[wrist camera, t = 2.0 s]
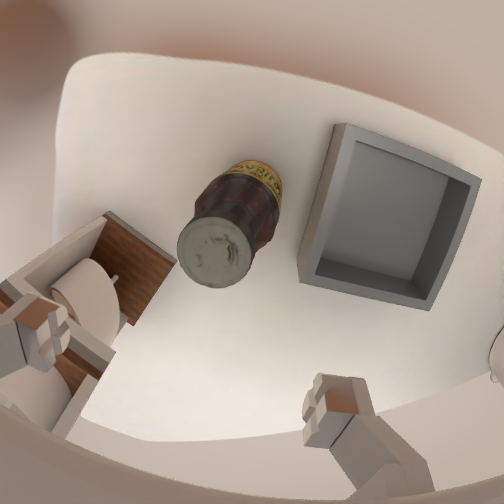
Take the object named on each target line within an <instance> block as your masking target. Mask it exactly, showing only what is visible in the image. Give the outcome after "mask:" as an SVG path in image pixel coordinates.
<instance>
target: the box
mask: <svg viewBox="0 0 504 504" xmlns="http://www.w3.org/2000/svg"><path fill="white" fill-rule="evenodd" d="M481 181H482V179H480V178H478V177H476V176H474V175H473V174H470V173H468V172H466V171H464V170H462V169H460V168H458V167H456V166H454V165H452V164H450V163H447V162H445V161H443V160H441V159H439V158H436V157H434V156H432V155H430V154H427V153H425V152H422V151H420V150H418V149H415V148H413V147H410V146H408V145H405V144H403V143H400V142H398V141H395V140H392V139H390V138H387V137H384V136H382V135H379V134H376V133H373V132H371V131H368V130H365V129H362V128H359V127H356V126H353V125H350V124H335V125H334V129H333V133H332V137H331V140H330V144H329V148H328V152H327V155H326V159H325V163H324V166H323V170H322V174H321V177H320V181H319V184H318V188H317V191H316V195H315V198H314V202H313V205H312V209H311V212H310V216H309V219H308V222H307V226H306V229H305V232H304V236H303V239H302V242H301V246H300V249H299V252H298V255H297V266H298V274H299V281H300V283H304V284H308V285H313V286H317V287H321V288H326V289H330V290H335V291H339V292H343V293H348V294H352V295H357V296H361V297H366V298H370V299H375V300H379V301H384V302H388V303H393V304H397V305H402V306H407V307H411V308H416V309H421V310H425V311H430V309H431V307H432V305H433V303H434V301H435V299H436V297H437V295H438V293H439V290H440V288H441V286H442V284H443V282H444V280H445V277H446V275H447V273H448V271H449V268H450V266H451V264H452V262H453V259H454V257H455V254H456V252H457V249H458V247H459V245H460V242H461V239H462V237H463V234H464V232H465V229H466V226H467V223H468V221H469V218H470V215H471V212H472V209H473V206H474V203H475V200H476V197H477V194H478V191H479V188H480V184H481Z"/></svg>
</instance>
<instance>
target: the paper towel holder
mask: <svg viewBox="0 0 504 504" xmlns="http://www.w3.org/2000/svg"><path fill="white" fill-rule="evenodd" d="M176 262H177V260H176V259H175V258H173V257H172V256H170V255H169V254H168V253H166V252H165V251H163V250H162V249H161V248H159V247H158V246H156V245H155V244H154V243H152V242H151V241H149V240H148V239H147V238H145V237H144V236H143V235H141V234H140V233H139V232H137V231H136V230H134V229H133V228H132V227H130V226H129V225H128V224H126V223H125V222H124V221H122V220H121V219H120V218H118V217H117V216H116V215H114V214H113V213H112V212H110V211H109V212H107V213H106V214H104V215H102V216H101V217H99V218H97V219H96V220H94V221H92V222H91V223H89V224H87V225H86V226H84V227H83V228H81V229H79V230H78V231H76V232H75V233H73V234H71V235H70V236H68V237H67V238H65V239H64V240H62V241H60V242H59V243H57V244H56V245H54V246H53V247H51V248H50V249H48V250H47V251H45V252H44V253H42V254H41V255H39V256H38V257H37V258H35V259H34V260H32V261H31V262H29V263H28V264H26V265H25V266H24V267H22V268H21V269H19V270H18V271H17V272H15V273H14V274H12V275H11V276H10V277H8V278H7V279H6V280H4V281H3V282H2V283H1V284H0V314H1V315H2V314H3V313H4V312H5V311H6V310H8V309H9V308H10V307H11V306H12V305H13V304H15V303H16V302H17V301H18V300H19V299H20V298H22V297H23V296H24V295H25V294H26V293H28V292H33V293H35V294H37V295H40V296H43V297H45V298H47V299H50V300H52V301H54V302H57V303H59V304H61V305H64V306H65V307H66V308H67V312H68V317H67V319H66V320H65V321H66V323H67V324H68V326H69V328H70V340H69V343H68V345H67V348H66V349H65V350H64V352H63V353H61V354H59V355H56V362H55V363H54V365H53V366H52V367H51V368H50V370H49V371H48V372H47V374H46V373H44V372H41V371H39V370H37V369H35V368H33V367H31V366H29V365H27V366H26V367H24V368H22V369H20V370H18V371H16V372H13V373H11V374H9V375H7V376H5V377H3V378H1V379H0V404H2V405H3V406H5V407H6V408H8V409H10V410H11V411H13V412H15V413H16V414H18V415H20V416H21V417H23V418H25V419H27V420H28V421H30V422H32V423H34V424H35V425H37V426H39V427H41V428H43V429H45V430H47V431H49V432H51V433H53V434H55V435H57V436H59V437H61V438H63V439H66V438H67V436H68V434H69V432H70V431H71V429H72V427H73V425H74V423H75V422H76V420H77V418H78V416H79V415H80V413H81V411H82V410H83V408H84V406H85V404H86V402H87V401H88V399H89V397H90V395H91V394H92V392H93V390H94V389H95V387H96V385H97V383H98V382H99V380H100V378H101V377H102V375H103V373H104V372H105V370H106V368H107V367H108V365H109V363H110V362H111V360H112V358H113V357H114V355H115V353H116V352H115V351H114V350H112V349H111V348H110V346H111V345H112V343H113V341H114V339H115V338H116V336H117V335H118V333H119V332H120V330H121V329H122V328H123V326H124V325H125V323H126V322H128V323H129V324H131V325H132V326H134V325H135V323H136V322H137V320H138V319H139V317H140V316H141V314H142V313H143V311H144V310H145V308H146V307H147V305H148V303H149V302H150V300H151V299H152V297H153V296H154V294H155V293H156V291H157V290H158V288H159V287H160V285H161V284H162V282H163V281H164V279H165V278H166V276H167V275H168V273H169V272H170V270H171V269H172V267H173V266H174V264H175V263H176Z"/></svg>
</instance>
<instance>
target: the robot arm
mask: <svg viewBox="0 0 504 504" xmlns="http://www.w3.org/2000/svg"><path fill="white" fill-rule="evenodd" d="M67 317H68V312H67V308H66V307H65V306H64V305H61V304H59V303H57V302H54V301H52V300H50V299H47V298H45V297H43V296H40V295H37V294H35V293H33V292H28V293H26V294H25V295H24V296H23V297H22V298H20V299H19V300H18V301H17V302H16V303H15V304H13V305H12V306H11V307H10V308H9V309H8V310H6V311H5V312H4V313H3V314H2V315H1V314H0V379H1V378H3V377H5V376H7V375H9V374H11V373H13V372H16V371H18V370H20V369H22V368H24V367H26V366H27V365H29V366H31V367H33V368H35V369H37V370H39V371H41V372H44V373H46V374H47V372H48V371H49V370H50V368H51V367H52V366H53V365H54V363H55V362H56V355H59V354H61V353H63V352H64V350H65V349H66V348H67V345H68V343H69V340H70V328H69V326H68V324H67V323H66V321H65V320H66V319H67ZM489 365H490V367H491V376H490V379H491V381H492V382H493V383H496V382H500V384H501V385H502V386H503V388H504V328H503V329H502V331H501V332H500V334H499V335H498V337H497V338H496V340H495V342H494V344H493V346H492V349H491V352H490V356H489ZM313 386H314V388H313V389H311V390H309V391H308V392H307V395H306V397H305V399H304V403H303V409H302V419H303V420H304V421H305V422H306V423H307V424H306V425H305V427H304V429H303V437H304V446H308V447H316V448H326V449H330V452H331V453H332V455H333V456H334V458H335V459H336V461H337V462H338V463H339V465H340V466H341V468H342V469H343V471H344V472H345V474H346V475H347V476H348V478H349V479H350V481H351V482H352V484H353V485H354V486H355V488H356V489H357V491H356V492H355V493H353V494H352V495H351V496H350V497H349V498H348V499H346V500H303V499H287V498H276V497H265V496H257V495H249V494H242V493H236V492H230V491H224V490H219V489H214V488H209V487H204V486H199V485H195V484H191V483H186V482H182V481H178V480H175V479H171V478H167V477H163V476H160V475H156V474H153V473H150V472H147V471H143V470H140V469H137V468H134V467H131V466H128V465H126V464H123V463H120V462H117V461H114V460H112V459H109V458H106V457H104V456H101V455H99V454H97V453H94V452H91V451H89V450H87V449H84V448H82V447H80V446H78V445H76V444H73V443H71V442H69V441H67V440H65V439H63V438H61V437H59V436H57V435H55V434H53V433H51V432H49V431H47V430H45V429H43V428H41V427H39V426H37V425H35V424H34V423H32V422H30V421H28V420H27V419H25V418H23V417H21V416H20V415H18V414H16V413H15V412H13V411H11V410H10V409H8V408H6V407H5V406H3V405H2V404H0V504H504V475H501V476H497V477H494V478H491V479H487V480H484V481H480V482H476V483H473V484H468V485H464V486H460V487H455V488H451V489H446V490H441V491H435V489H434V485H433V482H432V478H431V475H430V472H429V468H428V465H427V462H426V460H425V459H424V458H422V456H421V455H419V454H418V453H417V452H416V451H415V450H414V449H413V448H412V447H411V446H410V445H409V444H408V443H407V442H406V441H405V440H404V439H403V438H402V437H401V436H400V435H399V434H397V433H396V432H395V431H394V430H393V429H392V428H391V427H390V426H389V425H388V424H387V423H386V422H385V421H384V420H383V419H382V418H381V417H380V416H375V412H374V409H373V405H372V402H371V398H370V395H369V391H368V388H367V384H366V381H365V380H364V379H363V378H356V377H345V376H337V375H330V374H323V373H318V374H317V375H316V377H315V379H314V381H313Z"/></svg>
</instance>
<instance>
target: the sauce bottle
mask: <svg viewBox="0 0 504 504" xmlns="http://www.w3.org/2000/svg"><path fill="white" fill-rule="evenodd" d="M281 197H282V185H281V181H280V179H279V177H278V175H277V174H276V172H275V171H274V170H273V169H272V168H271V167H269V166H268V165H266V164H264V163H262V162H259V161H244V162H241V163H239V164H237V165H235V166H234V167H232V168H231V169H229V170H228V171H226V172H225V173H223V174H222V175H220V176H218V177H217V178H216V179H214V180H213V181H212V182H211V183H210V184H209V185H208V187H207V188H206V189H205V190H204V192H203V193H202V194H201V195H200V196H199V198H198V199H197V200H196V202H195V216H194V218H193V219H192V220H191V221H190V222H189V223H188V224H187V225H186V227H185V228H184V229H183V231H182V232H181V234H180V236H179V239H178V242H177V256H178V259H179V261H180V265H181V267H182V268H183V270H184V272H185V273H186V274H187V275H188V276H189V277H190V278H191V279H192V280H194V281H195V282H197V283H199V284H202V285H205V286H207V287H210V288H225V287H228V286H231V285H233V284H235V283H237V282H239V281H240V280H241V279H242V278H243V277H244V276H245V275H246V274H247V272H248V271H249V269H250V267H251V264H252V261H253V259H254V257H255V253H256V252H257V251H258V250H259V249H260V248H262V247H263V246H265V245H266V243H267V242H270V241H271V239H272V237H273V235H274V231H275V227H276V225H277V222H278V219H279V214H280V206H281Z"/></svg>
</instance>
